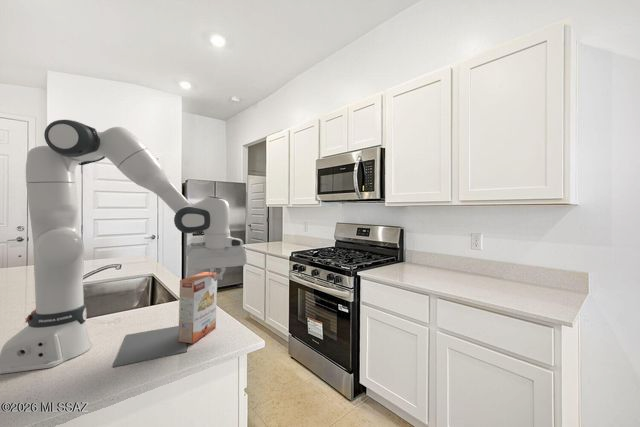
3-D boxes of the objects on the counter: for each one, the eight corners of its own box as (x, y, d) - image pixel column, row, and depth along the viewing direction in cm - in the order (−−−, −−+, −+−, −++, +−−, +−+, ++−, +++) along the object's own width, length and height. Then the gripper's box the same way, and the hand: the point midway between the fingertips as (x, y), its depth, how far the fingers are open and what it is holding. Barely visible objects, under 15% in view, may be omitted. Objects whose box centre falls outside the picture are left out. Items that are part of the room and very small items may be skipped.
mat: (113, 367, 81) (112, 366, 81) (126, 335, 101) (126, 334, 101) (186, 352, 90) (186, 351, 90) (185, 325, 109) (185, 324, 109)
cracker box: (193, 344, 94) (194, 281, 93) (177, 342, 95) (178, 279, 94) (217, 327, 107) (218, 271, 107) (202, 325, 109) (203, 270, 108)
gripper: (185, 244, 96) (186, 285, 96) (247, 241, 105) (247, 278, 105) (185, 242, 101) (186, 281, 102) (244, 239, 110) (244, 274, 111)
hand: (217, 279), depth 104 cm, fingers closed
